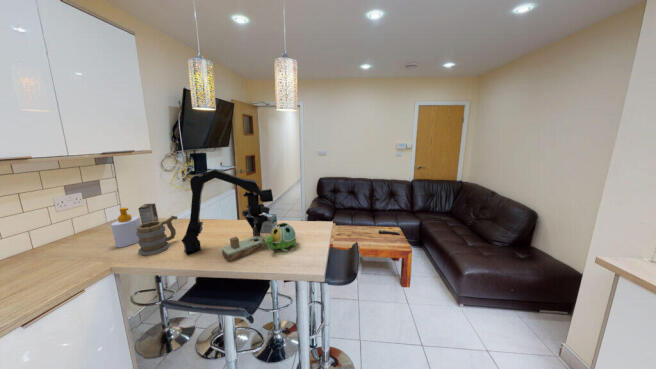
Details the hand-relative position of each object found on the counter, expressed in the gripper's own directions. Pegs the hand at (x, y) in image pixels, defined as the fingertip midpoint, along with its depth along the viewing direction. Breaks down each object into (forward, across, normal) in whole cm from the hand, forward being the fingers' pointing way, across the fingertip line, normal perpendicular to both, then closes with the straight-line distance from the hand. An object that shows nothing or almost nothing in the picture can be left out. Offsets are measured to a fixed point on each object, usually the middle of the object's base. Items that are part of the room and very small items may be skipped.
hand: (256, 230), depth 132 cm
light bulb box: (+6, +8, -11) cm, 15 cm away
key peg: (+6, 0, 0) cm, 6 cm away
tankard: (+6, +32, +39) cm, 51 cm away
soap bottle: (+6, +52, +51) cm, 73 cm away
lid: (+2, -7, +11) cm, 13 cm away
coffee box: (+6, +66, +39) cm, 77 cm away
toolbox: (+6, -7, +11) cm, 14 cm away
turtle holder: (+6, -17, -5) cm, 19 cm away
